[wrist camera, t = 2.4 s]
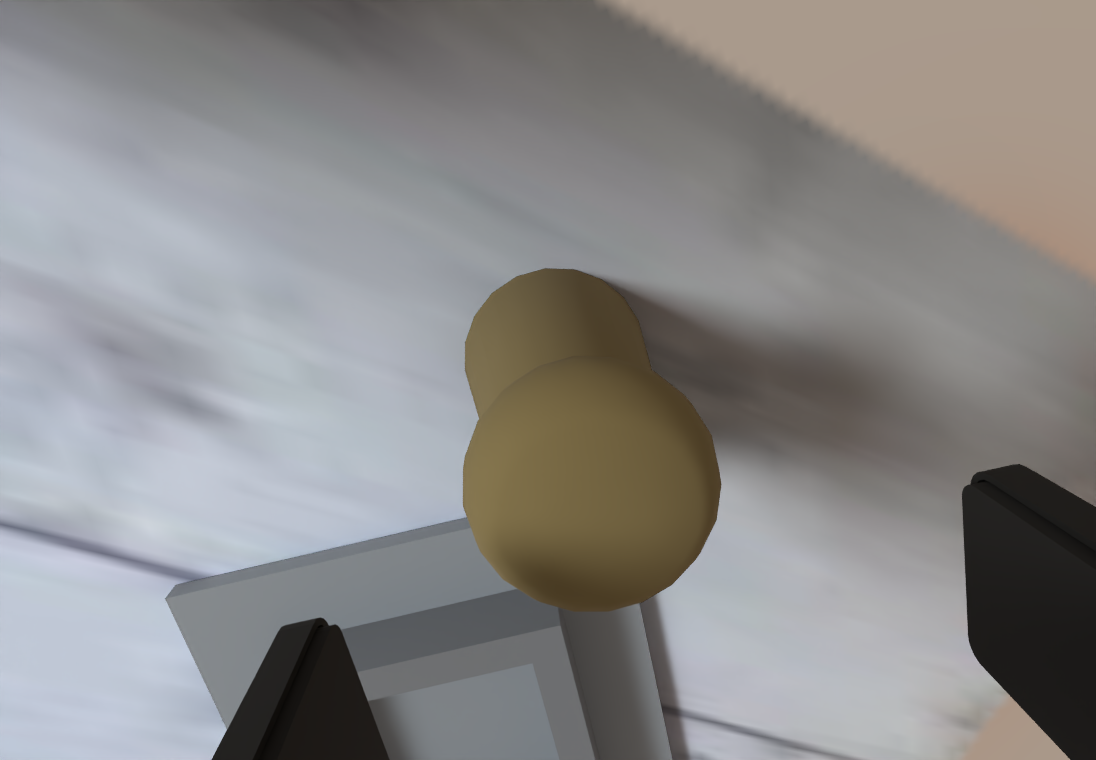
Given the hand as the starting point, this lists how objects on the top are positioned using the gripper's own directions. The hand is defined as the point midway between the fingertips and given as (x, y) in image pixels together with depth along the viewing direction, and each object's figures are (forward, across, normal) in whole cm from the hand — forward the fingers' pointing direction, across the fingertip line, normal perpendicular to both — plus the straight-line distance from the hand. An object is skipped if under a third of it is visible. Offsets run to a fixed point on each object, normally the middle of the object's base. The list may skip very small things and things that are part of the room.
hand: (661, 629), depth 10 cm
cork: (+14, +1, -1) cm, 14 cm away
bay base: (+14, +8, +12) cm, 20 cm away
